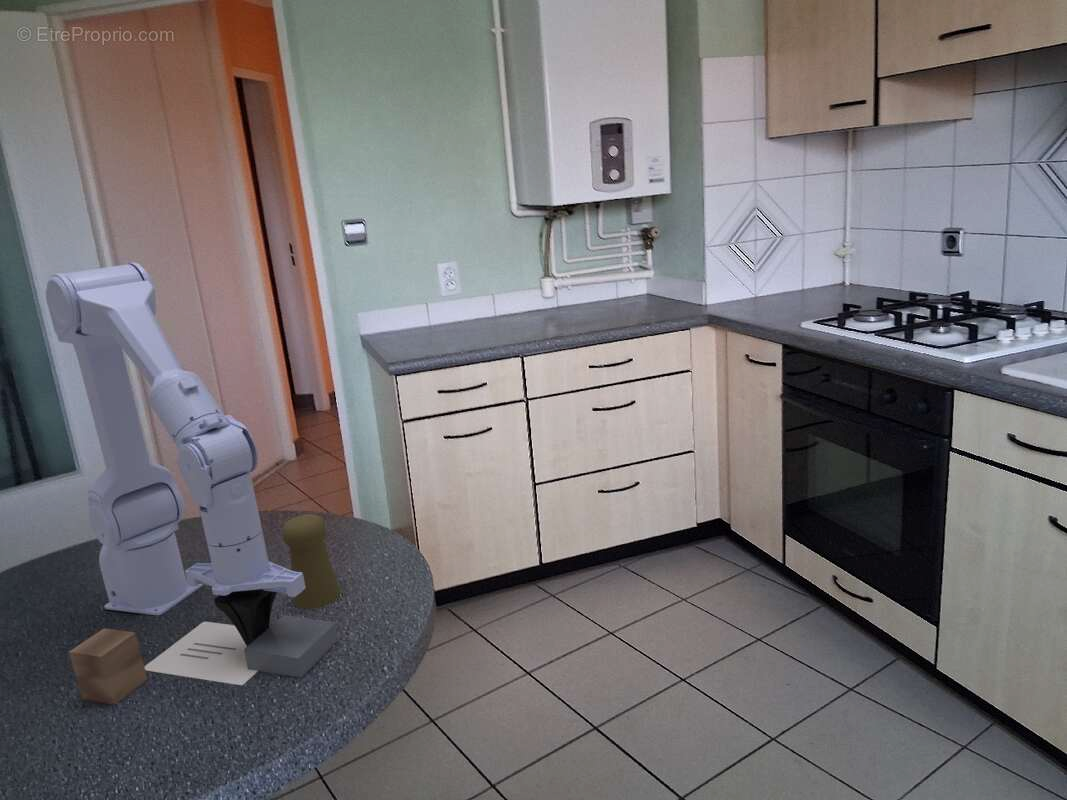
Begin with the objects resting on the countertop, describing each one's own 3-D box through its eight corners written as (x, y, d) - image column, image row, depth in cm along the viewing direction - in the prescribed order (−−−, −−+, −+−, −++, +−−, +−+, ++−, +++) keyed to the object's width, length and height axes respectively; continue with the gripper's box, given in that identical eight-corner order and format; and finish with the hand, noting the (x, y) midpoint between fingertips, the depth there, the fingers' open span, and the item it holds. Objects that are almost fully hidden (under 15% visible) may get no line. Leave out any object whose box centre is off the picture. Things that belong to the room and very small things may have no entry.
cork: (328, 611, 98) (313, 529, 95) (283, 610, 99) (267, 529, 96) (348, 586, 103) (334, 508, 101) (306, 585, 105) (291, 508, 102)
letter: (141, 670, 89) (140, 669, 89) (204, 622, 98) (203, 621, 98) (242, 686, 84) (242, 685, 84) (299, 634, 93) (298, 633, 93)
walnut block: (83, 701, 85) (68, 651, 83) (117, 675, 89) (104, 628, 87) (114, 706, 83) (100, 656, 81) (148, 680, 87) (135, 632, 85)
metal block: (247, 669, 87) (244, 649, 86) (287, 633, 93) (283, 614, 92) (301, 678, 84) (298, 658, 84) (338, 642, 91) (335, 622, 90)
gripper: (155, 547, 85) (182, 657, 89) (265, 556, 80) (290, 673, 84) (201, 519, 92) (225, 623, 95) (307, 526, 87) (328, 636, 90)
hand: (258, 644), depth 90 cm, fingers closed
